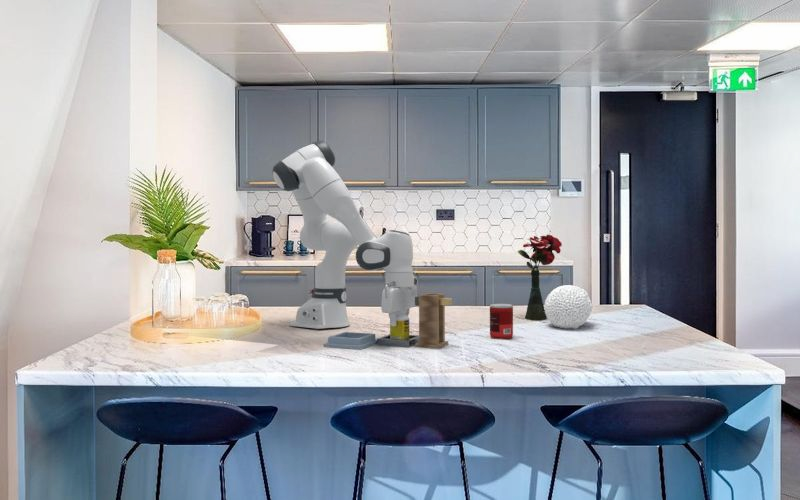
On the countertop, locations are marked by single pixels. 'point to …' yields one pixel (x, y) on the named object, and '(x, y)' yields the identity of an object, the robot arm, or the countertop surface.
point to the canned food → (501, 321)
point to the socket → (398, 341)
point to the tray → (351, 340)
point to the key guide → (431, 321)
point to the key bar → (441, 301)
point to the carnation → (545, 257)
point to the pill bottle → (400, 326)
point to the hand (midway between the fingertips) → (399, 324)
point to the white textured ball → (568, 307)
